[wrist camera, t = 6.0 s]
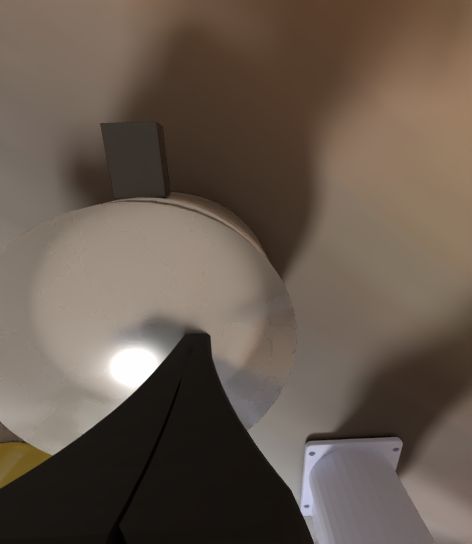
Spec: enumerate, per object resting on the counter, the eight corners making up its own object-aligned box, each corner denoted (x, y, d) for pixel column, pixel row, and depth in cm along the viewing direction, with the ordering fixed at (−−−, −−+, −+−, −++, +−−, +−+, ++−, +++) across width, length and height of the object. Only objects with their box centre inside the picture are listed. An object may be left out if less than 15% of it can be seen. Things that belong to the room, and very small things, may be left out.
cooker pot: (269, 389, 19) (282, 457, 15) (111, 396, 19) (73, 466, 15) (273, 136, 13) (297, 113, 9) (45, 143, 13) (-55, 125, 9)
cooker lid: (283, 424, 14) (290, 441, 13) (-14, 480, 12) (-31, 506, 11) (294, 192, 10) (305, 193, 9) (-164, 213, 8) (-214, 218, 7)
